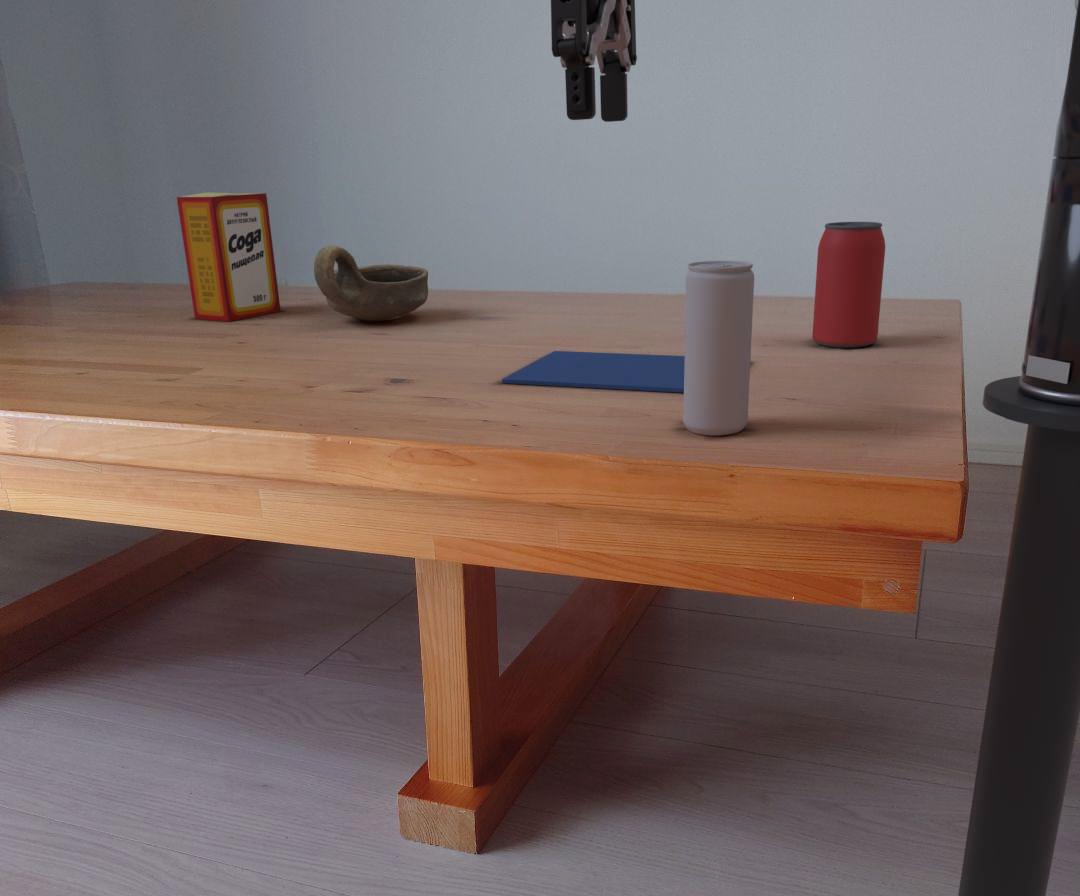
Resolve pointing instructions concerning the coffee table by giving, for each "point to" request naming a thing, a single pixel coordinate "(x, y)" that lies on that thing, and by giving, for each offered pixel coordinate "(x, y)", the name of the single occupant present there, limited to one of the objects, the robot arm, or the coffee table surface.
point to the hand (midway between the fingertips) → (598, 120)
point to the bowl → (369, 286)
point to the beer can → (848, 284)
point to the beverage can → (717, 346)
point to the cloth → (604, 371)
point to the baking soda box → (229, 255)
